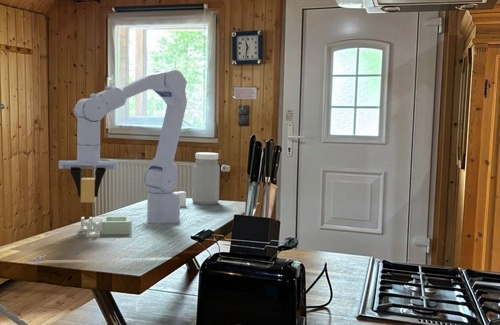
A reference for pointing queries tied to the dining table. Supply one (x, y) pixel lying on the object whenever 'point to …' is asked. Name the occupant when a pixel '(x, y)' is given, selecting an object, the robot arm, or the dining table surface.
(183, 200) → the napkin holder
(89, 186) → the connector plug
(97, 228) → the cable clip
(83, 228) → the cable clip
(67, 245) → the dining table surface
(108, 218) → the end holder
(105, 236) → the mat
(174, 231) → the dining table surface
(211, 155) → the jar
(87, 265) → the dining table surface
